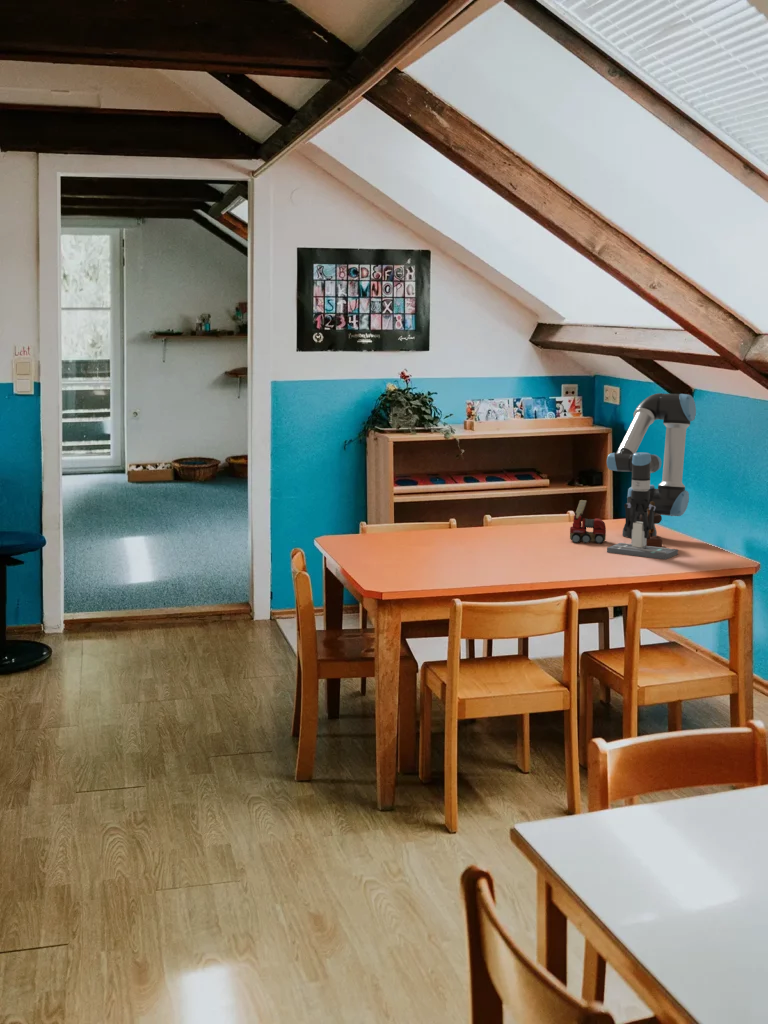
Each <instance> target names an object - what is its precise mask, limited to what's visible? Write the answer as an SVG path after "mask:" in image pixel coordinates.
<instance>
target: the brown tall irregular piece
mask: <svg viewBox="0 0 768 1024" xmlns="http://www.w3.org/2000/svg"><path fill="white" fill-rule="evenodd" d="M650 504H651V505H653V506H655V503H654V502H653V501H651V502H650ZM647 510H649V507H648V509H647ZM649 512H650V510H649V511H647V517H648V523H649ZM662 518H663V517H662V515H660V514H658V513H655V512H654V524H655V525H656V524H660V523H661V521H663V519H662ZM640 521H641V522H643V519H642V515H640ZM653 532H654V527H653V529H651V530H649V537H648V538H647V541H646V545H645V546H652V547H660V548H663V539H662V538H661V537H659V536H652V535H653Z"/></svg>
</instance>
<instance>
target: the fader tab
mask: <svg viewBox="0 0 768 1024" xmlns="http://www.w3.org/2000/svg"><path fill="white" fill-rule="evenodd" d="M643 530H644V525H643V522H634V523H633V542H632V546H631V547H633V548H641V549H643V548H646V547H647V546H642V531H643Z"/></svg>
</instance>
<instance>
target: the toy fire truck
mask: <svg viewBox="0 0 768 1024" xmlns="http://www.w3.org/2000/svg"><path fill="white" fill-rule="evenodd" d="M587 502H588V501H587V500H583V499H581V500H579V501H578V505H577V508H576V511H575V515H573V520H572V521H573V523H572V526H570V527H569V528H570V529H569V539H570V541H572V542H573V543H574V544H578V543H581V542H582V543H584V544H589V543H590V542H595V543H596V544H598V545H601V544H602V543H604V542H605V541H606V540H607V539H606V538H607V537H606V536H607V533H606V532H607V529H606V523H605V522H604V520H603V519H601V518H589V519H588V518H584V517H583V516H582V515H583V514H584V511H585V508H586V506H587ZM582 517H583V518H582ZM587 528H588V529H592V531H587Z"/></svg>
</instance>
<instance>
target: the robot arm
mask: <svg viewBox="0 0 768 1024" xmlns="http://www.w3.org/2000/svg"><path fill="white" fill-rule="evenodd" d="M696 415H697V409H696V402H695V399H694V397H693V396H692V395H691V394H687V393H660V392H658V393H654V394H651V395H649V396H647V397H646V398H645V399H643V400H642V401H641V402H640V403H639V404H637V406H636V408H635V410H634V412H633V419H632V420H631V422H630V425H629V427H628V428H627V430H626V433H625V435H624V437H623V439H622V441H621V443H620V444H619V447H618V449H617V450H616V452H610V453H609V454H608V455H607V458H606V467H607V469H608V470H610V471H614V472H631V486H630V487H629V488H627V496H626V498H627V500H626V501H627V502H626V503H624V504H623V505H624V506H623V507H624V509H625V523H624V526H623V528H622V536H623V537H625V538H629V539H631V543H630V544H631V545H632V542H633V523H634V522H641V521H640V515H642V519H643V525H644V530H643V531H642V546H645V545H646V541H647V538H648V537H649V530H651V529H653V527H654V532H653V535H652V536H656V537H658V536H657V528H656V524H654V512H655V513H658V514H660V515H661V516H670V517H681V516H683V515H684V514H685V512H686V511H687V508H688V505H689V502H690V501H689V499H690V493H689V491H687V490H686V486H685V484H684V483H683V472H684V462H685V461H684V460H685V450H686V449H685V448H686V437H687V436H686V435H687V429H688V428H689V427H690V425H691V422H694V420H695V419H696ZM657 420H661V421H662V420H663V421H662V422H663V425H664V426H665V428H666V429H665V439H664V440H665V441H664V453H663V467H662V459H661V457H659V456H658V455H657V454H654V453H653V454H652V453H649V452H644V451H643V452H637V451H638V449H639V447H640V445H641V443H642V441H643V439H644V436H645V434H646V433H647V431H648V429H649V427H650V425H652V424H654V422H655V421H657ZM661 467H662V476H661V477H662V480H661V482H660V483H658V487H657V488H656V487H655V485H654V484H651V474H653V473H656V472H657V471H659V470H660V469H661ZM651 501H653V502H654V503H655V506H653V505H651V504H650V502H651ZM648 507H649V510H650V512H649V523H648V517H647V511H649V510H647V509H648Z"/></svg>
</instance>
